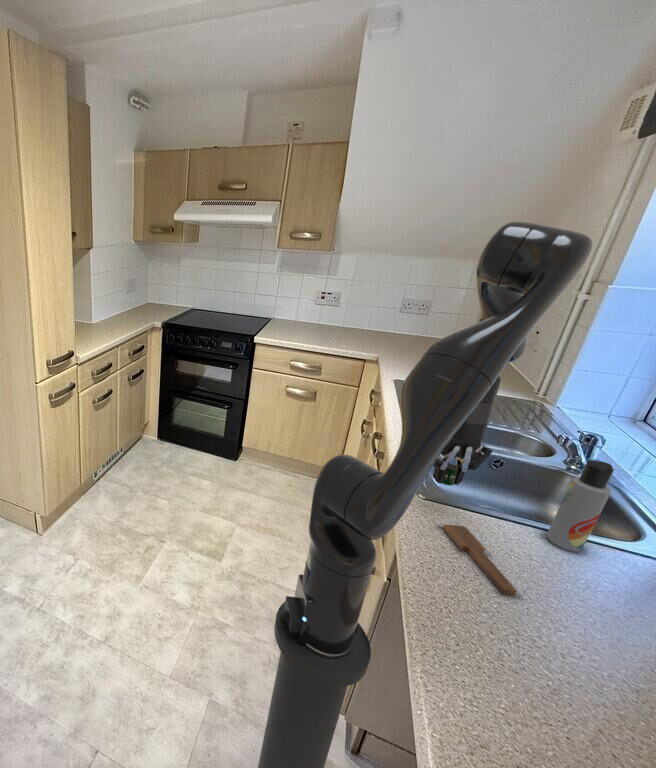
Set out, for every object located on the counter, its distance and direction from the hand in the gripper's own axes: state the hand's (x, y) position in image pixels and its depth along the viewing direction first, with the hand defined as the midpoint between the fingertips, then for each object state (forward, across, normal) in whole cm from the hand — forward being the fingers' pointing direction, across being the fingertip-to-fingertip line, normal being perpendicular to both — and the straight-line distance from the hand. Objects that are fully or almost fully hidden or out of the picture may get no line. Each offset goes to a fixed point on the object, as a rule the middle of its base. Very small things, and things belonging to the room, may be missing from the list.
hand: (445, 481), depth 97 cm
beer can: (0, 0, 0) cm, 0 cm away
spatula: (+8, 0, +16) cm, 18 cm away
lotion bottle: (+8, -22, +8) cm, 25 cm away
